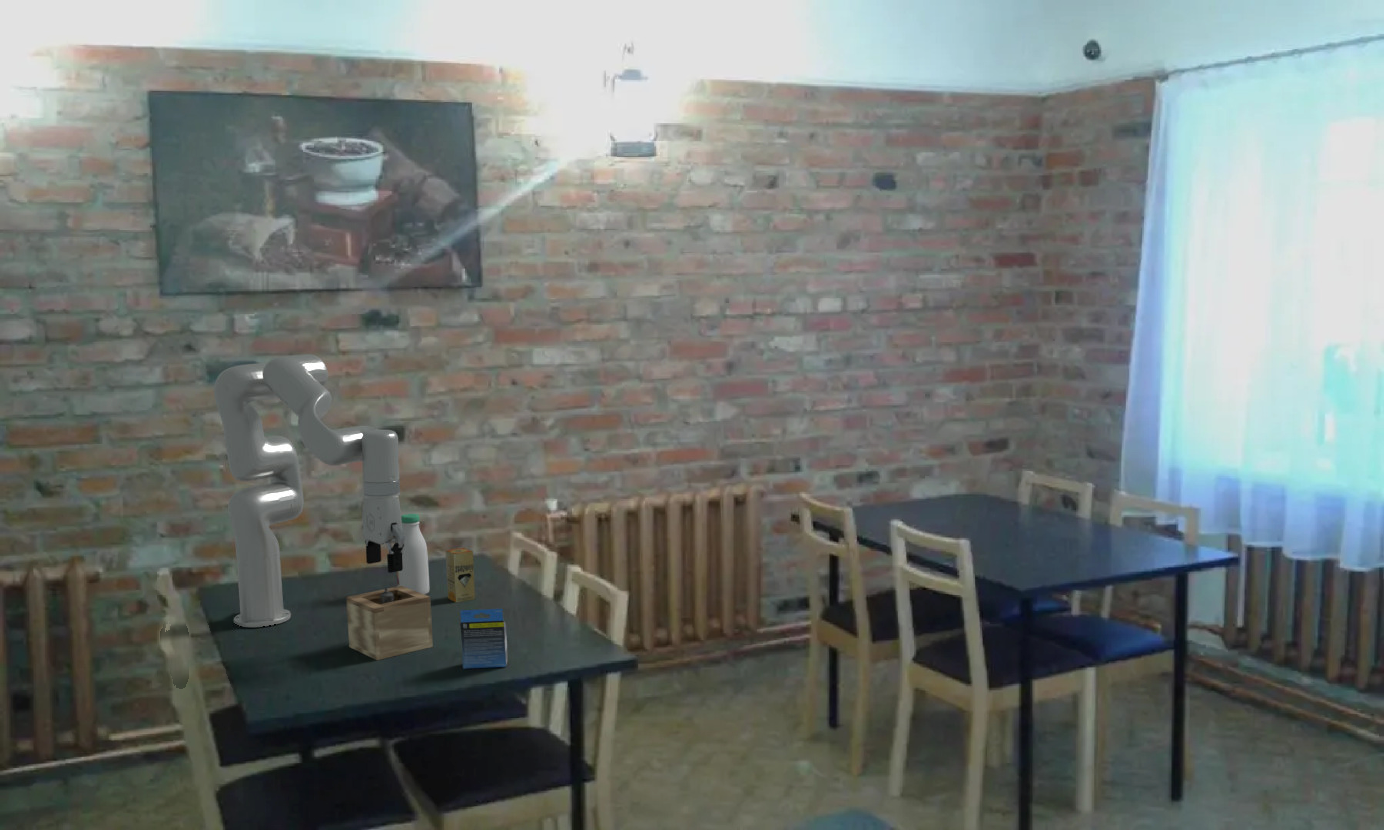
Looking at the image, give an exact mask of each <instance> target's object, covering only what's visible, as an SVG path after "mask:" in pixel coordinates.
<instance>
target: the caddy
mask: <svg viewBox="0 0 1384 830" xmlns="http://www.w3.org/2000/svg"><path fill="white" fill-rule="evenodd" d="M387 589H388V590H387V591H389V592H392V593H393V595H394V602H389V603H384V604H380V595H381V593H383V592H384V591H385V588H384V589H379V590H376V591H371V592H365V593H364V592H363V593H359V594H356V595H351V596H346V597H345V599H346V612H347V613H346V614H347V616H346V618H347V632H348V647H349V648H351V649H353V650H355V651H357V652H359V653H361V654H364V655H365V656H368V657H370V658H372V659H373V660H375V661H380V660H384V659H387V658H388V659H389V658H392V657H395V656H400V655H404V654H409V653H412V652H417V651H421V650H426V649H429V648H432V647H433V646H434V645H433V625H432V623H433V622H432V607H431V605H432V603H431V596H430V595H427V594H425V595H424V594H422V593H419V592H416V591H414V590H411V589H408V588H406V587H403V586H398V585H397V586H394V587H393V586H392V587H390V588H387Z"/></svg>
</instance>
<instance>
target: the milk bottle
mask: <svg viewBox="0 0 1384 830" xmlns="http://www.w3.org/2000/svg"><path fill="white" fill-rule="evenodd" d="M401 520H402V532H403V534H404V535H405V540H404V547H403V553H402V562H403V570H402V571H398V572H396V580H397V581H396V582H397V587H398V586H403V587H406V588H408V589H411V590H414V591H416V592H419V593H422V594H424V595H427V594H429V593H430V575H429V574H430V573H429V557H428V548H427V542H426V540H425V538H424V536H423V534H422V532H421V530H420V515H419V514H418V513H406V514H401Z"/></svg>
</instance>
